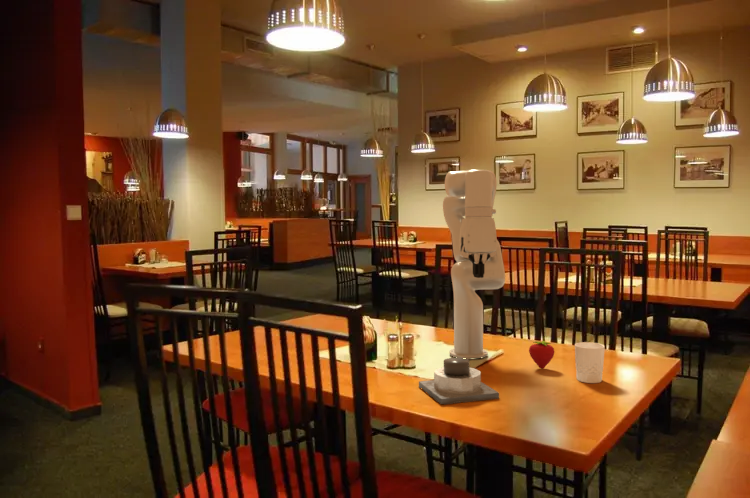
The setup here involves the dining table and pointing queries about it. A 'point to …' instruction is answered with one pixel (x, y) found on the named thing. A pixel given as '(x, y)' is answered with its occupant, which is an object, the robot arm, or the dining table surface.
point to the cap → (456, 366)
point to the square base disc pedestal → (458, 387)
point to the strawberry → (541, 353)
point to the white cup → (589, 361)
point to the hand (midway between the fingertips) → (478, 277)
